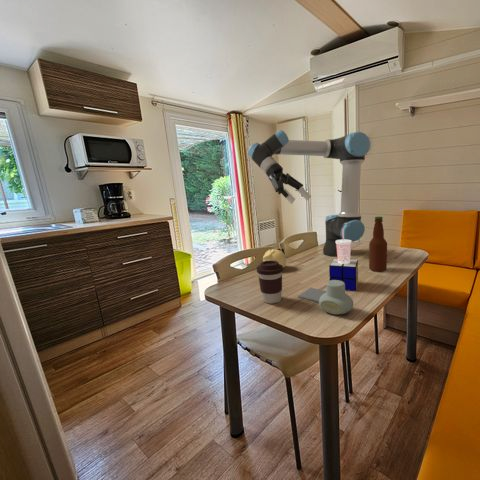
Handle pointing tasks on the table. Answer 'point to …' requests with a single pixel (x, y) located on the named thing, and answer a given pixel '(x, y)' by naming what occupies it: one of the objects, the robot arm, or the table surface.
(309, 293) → the slate coaster
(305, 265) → the table surface
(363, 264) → the table surface
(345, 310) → the air freshener
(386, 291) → the table surface
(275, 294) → the coffee cup
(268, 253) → the sculpture
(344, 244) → the beverage cup
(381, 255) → the bottle
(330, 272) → the puzzle cube
